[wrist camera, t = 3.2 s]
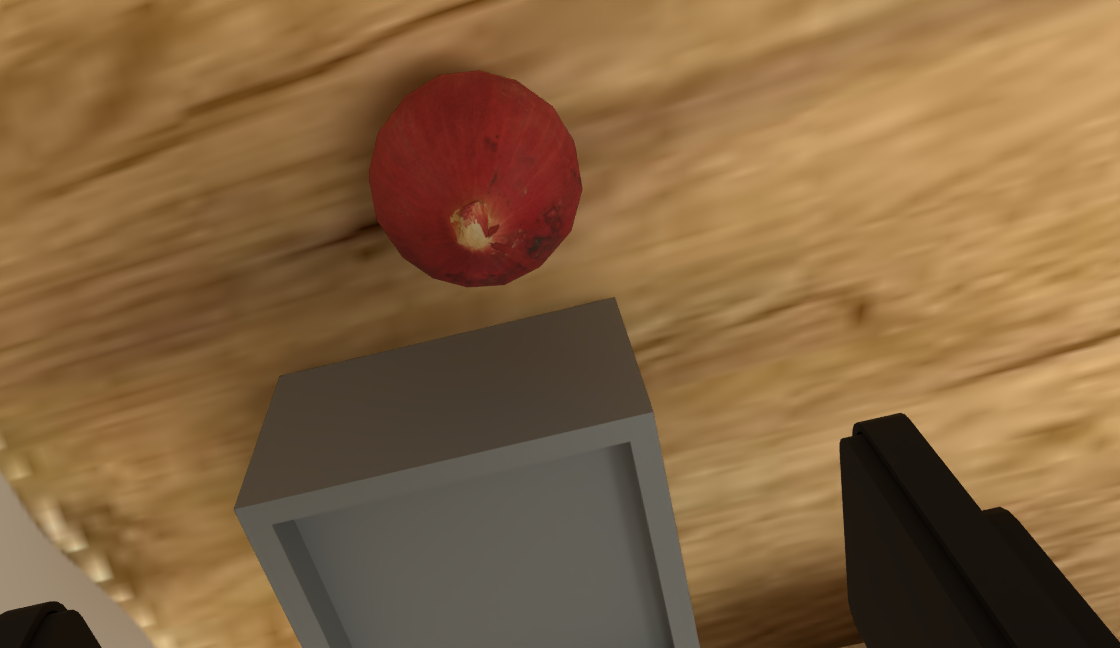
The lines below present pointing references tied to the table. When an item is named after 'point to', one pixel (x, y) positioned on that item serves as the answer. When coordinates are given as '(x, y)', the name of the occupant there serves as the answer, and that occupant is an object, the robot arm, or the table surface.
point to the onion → (475, 179)
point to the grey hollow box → (472, 495)
